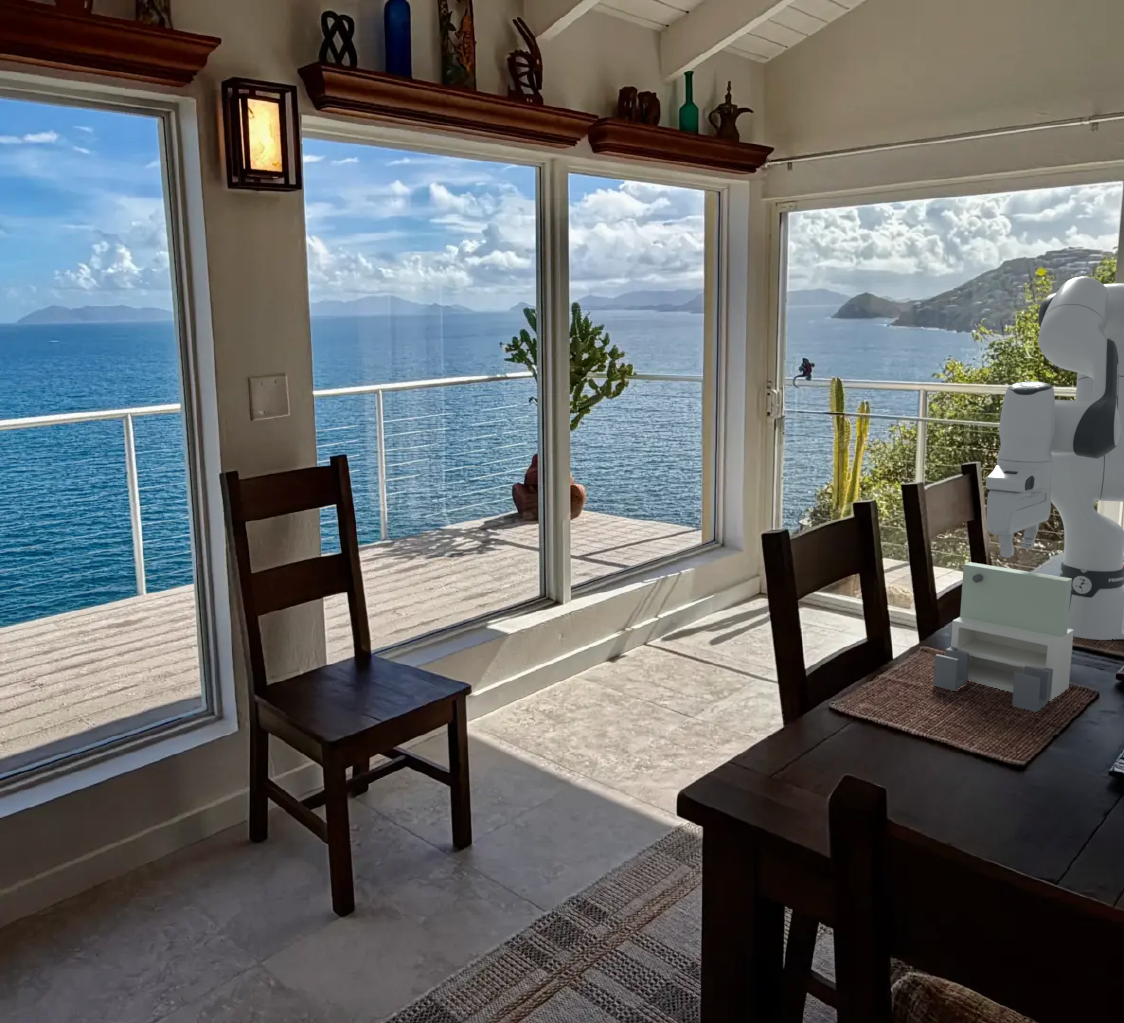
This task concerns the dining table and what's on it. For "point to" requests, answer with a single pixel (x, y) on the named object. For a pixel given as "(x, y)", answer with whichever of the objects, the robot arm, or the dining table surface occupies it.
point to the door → (1016, 598)
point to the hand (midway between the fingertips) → (1017, 552)
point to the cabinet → (1006, 661)
